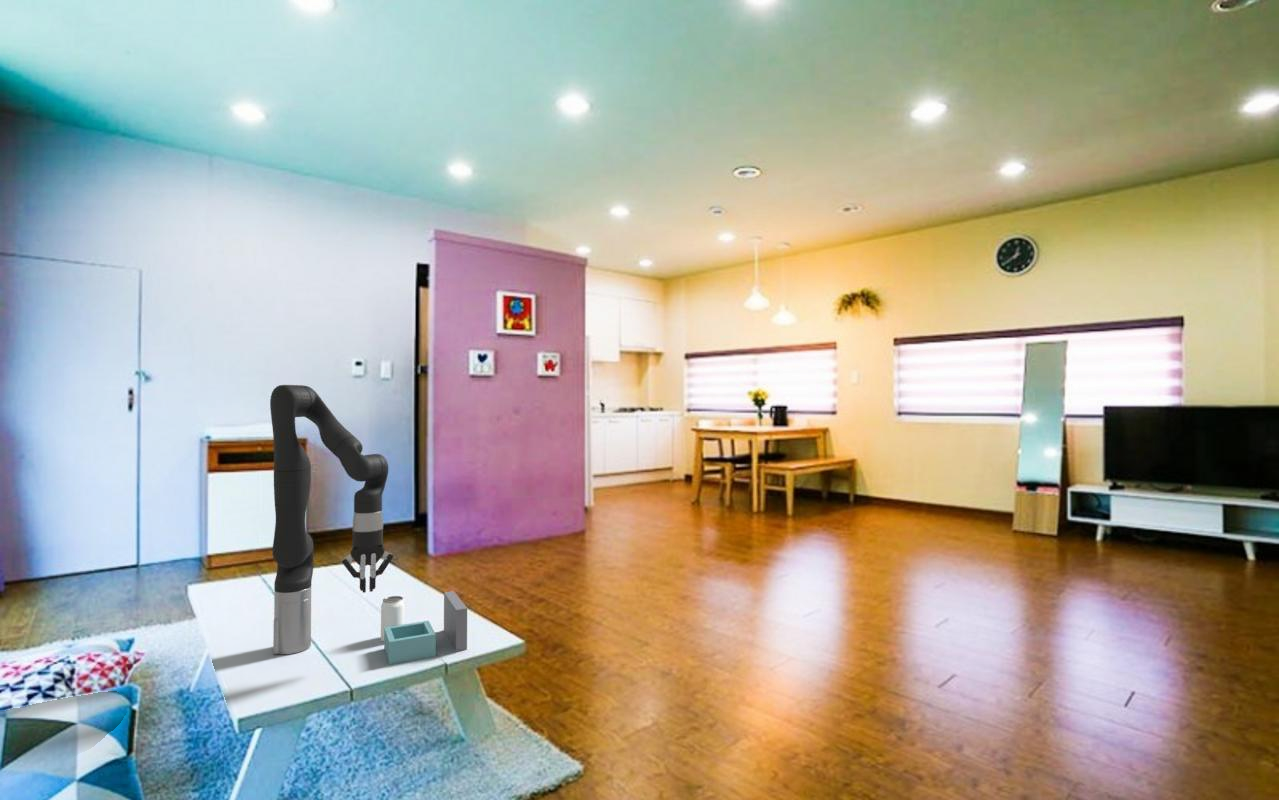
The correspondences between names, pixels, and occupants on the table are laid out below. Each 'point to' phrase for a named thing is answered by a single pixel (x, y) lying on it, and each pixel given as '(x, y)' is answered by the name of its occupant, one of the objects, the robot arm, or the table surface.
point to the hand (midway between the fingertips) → (367, 591)
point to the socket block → (409, 642)
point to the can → (391, 613)
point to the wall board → (455, 620)
